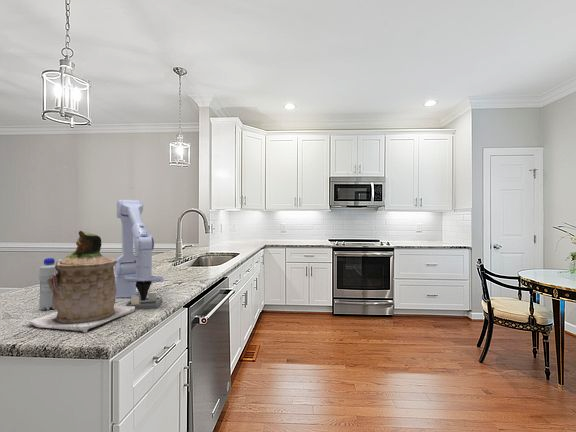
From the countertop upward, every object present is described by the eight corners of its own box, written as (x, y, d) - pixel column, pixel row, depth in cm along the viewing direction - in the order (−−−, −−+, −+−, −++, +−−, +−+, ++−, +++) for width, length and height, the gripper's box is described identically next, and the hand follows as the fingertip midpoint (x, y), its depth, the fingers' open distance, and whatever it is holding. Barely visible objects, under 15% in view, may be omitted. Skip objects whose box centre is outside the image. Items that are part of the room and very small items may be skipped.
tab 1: (131, 305, 125) (131, 297, 125) (132, 304, 127) (132, 295, 127) (139, 305, 125) (139, 296, 125) (140, 303, 128) (140, 295, 128)
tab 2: (148, 301, 131) (148, 293, 131) (149, 299, 134) (149, 291, 133) (156, 301, 132) (156, 292, 132) (157, 299, 134) (157, 291, 134)
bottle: (36, 312, 119) (36, 259, 119) (40, 307, 125) (40, 257, 125) (58, 309, 123) (58, 258, 122) (61, 305, 128) (61, 256, 128)
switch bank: (125, 309, 123) (125, 304, 123) (132, 302, 133) (132, 297, 133) (157, 308, 126) (157, 302, 126) (162, 301, 136) (162, 296, 135)
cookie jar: (138, 310, 122) (138, 228, 122) (84, 334, 98) (85, 232, 98) (85, 306, 128) (85, 227, 128) (22, 327, 104) (22, 230, 103)
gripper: (121, 268, 121) (121, 303, 121) (160, 267, 124) (160, 301, 124) (126, 265, 128) (126, 298, 128) (164, 264, 131) (164, 297, 131)
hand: (143, 300), depth 127 cm, fingers closed
